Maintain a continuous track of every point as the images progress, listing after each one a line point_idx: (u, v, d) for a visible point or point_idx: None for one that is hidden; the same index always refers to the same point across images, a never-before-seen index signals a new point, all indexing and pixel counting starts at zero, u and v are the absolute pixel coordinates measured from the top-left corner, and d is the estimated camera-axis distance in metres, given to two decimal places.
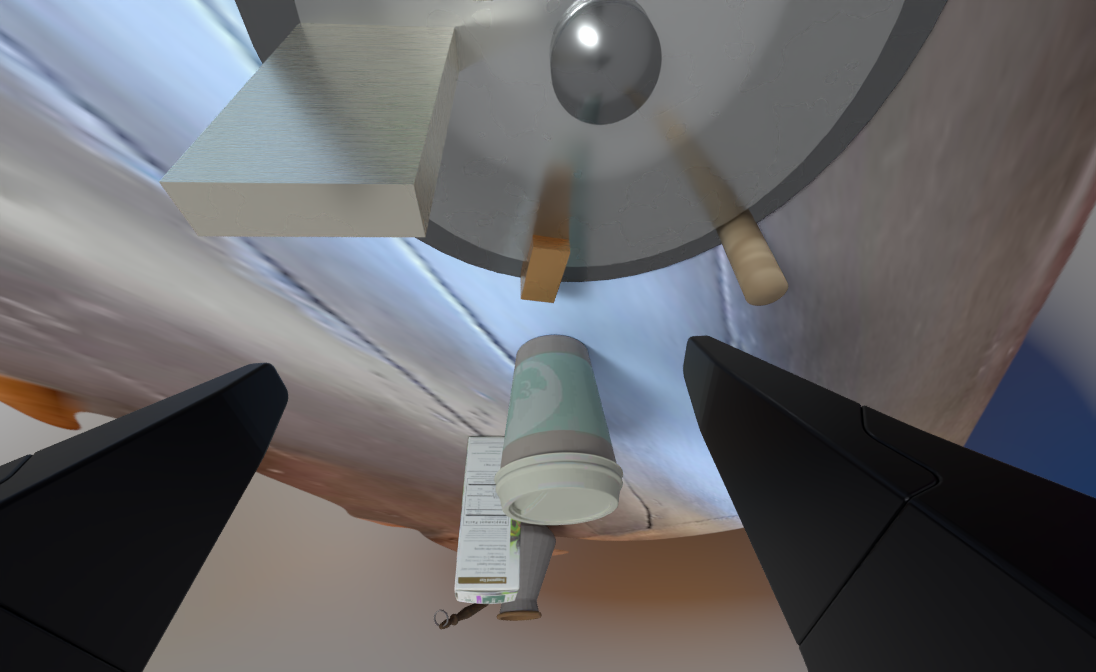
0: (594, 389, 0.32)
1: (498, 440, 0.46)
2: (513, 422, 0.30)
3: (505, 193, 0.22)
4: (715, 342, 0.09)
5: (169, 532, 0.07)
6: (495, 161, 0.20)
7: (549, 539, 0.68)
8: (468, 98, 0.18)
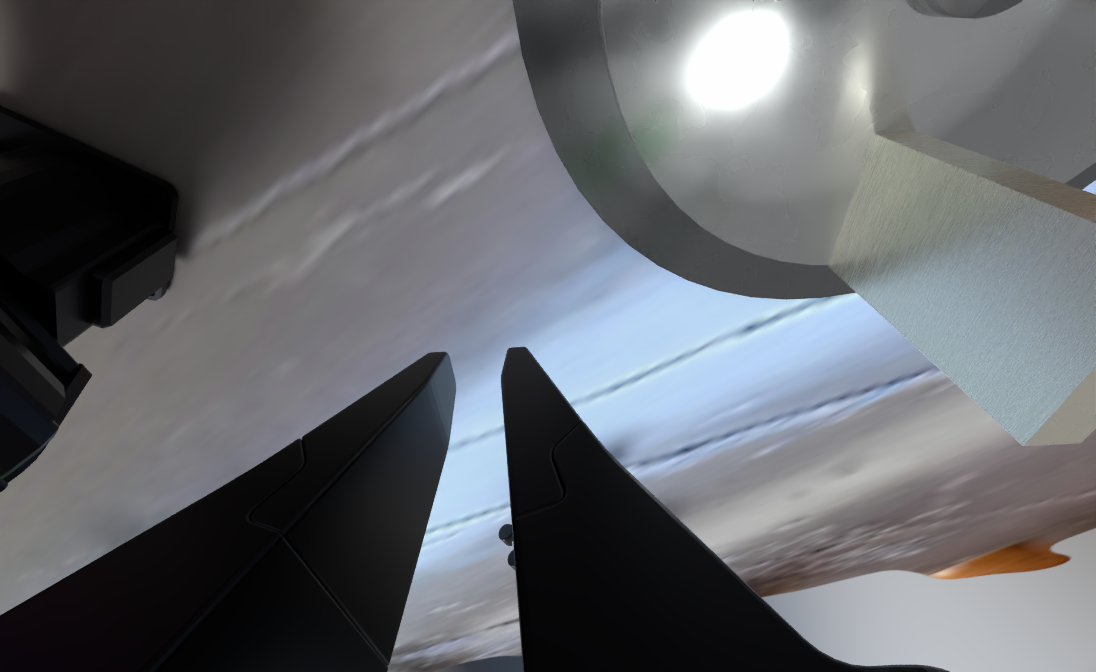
0: None
1: None
2: None
3: (1094, 72, 0.15)
4: (524, 353, 0.09)
5: (404, 518, 0.07)
6: (1038, 87, 0.16)
7: None
8: (946, 121, 0.16)
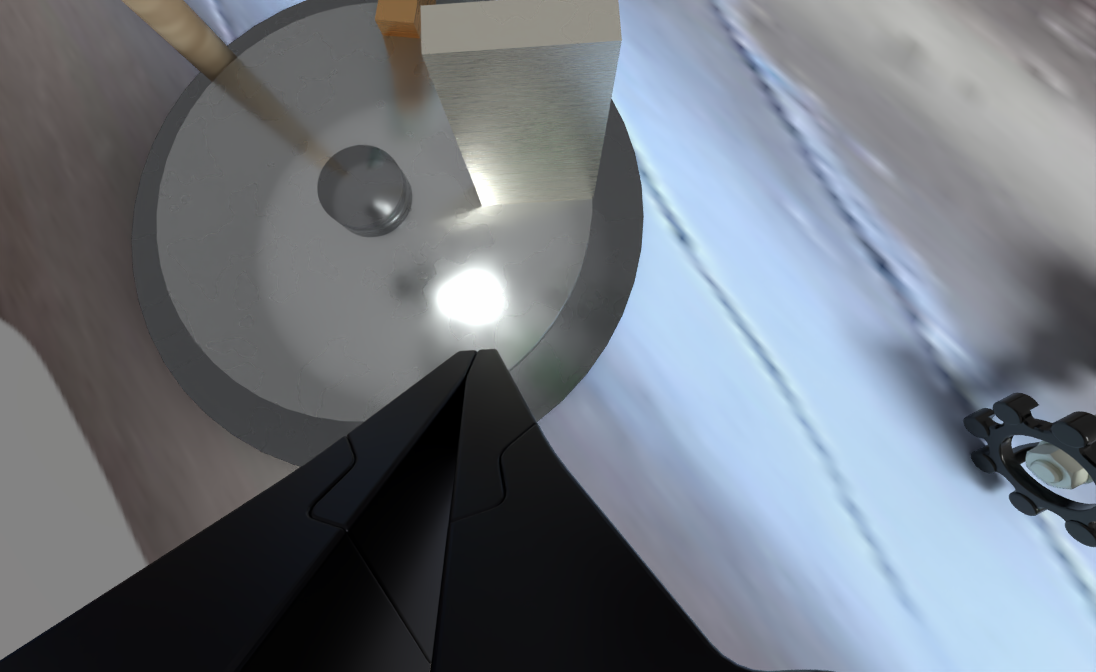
0: None
1: None
2: None
3: None
4: (492, 355, 0.09)
5: (444, 516, 0.07)
6: None
7: None
8: None
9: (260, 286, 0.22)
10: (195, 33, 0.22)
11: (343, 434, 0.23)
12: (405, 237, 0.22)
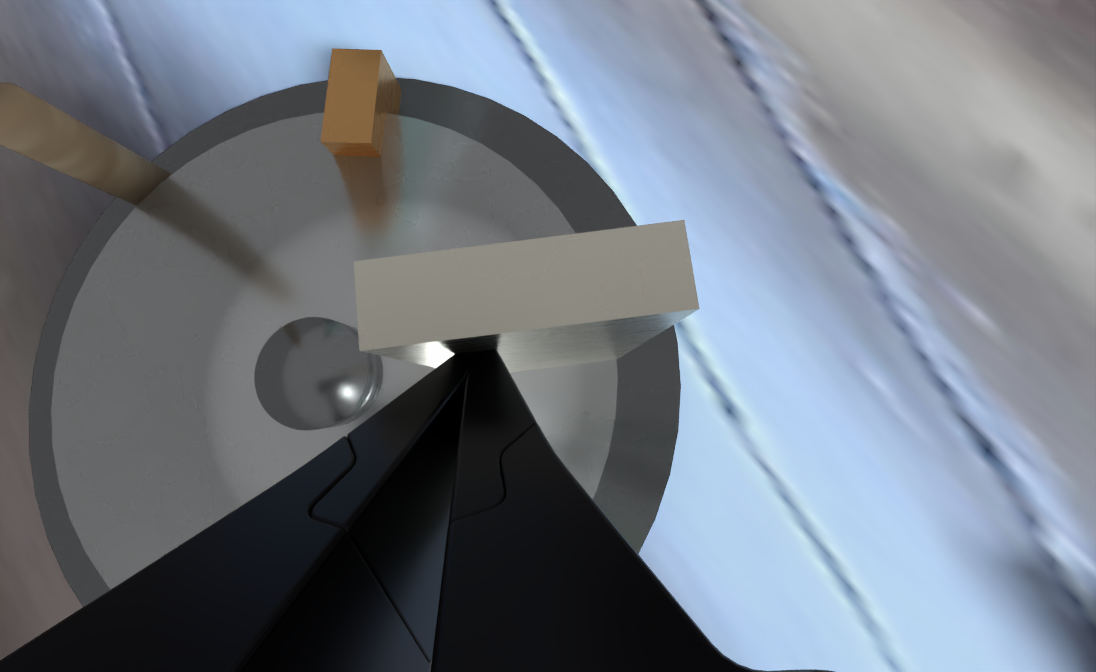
0: None
1: None
2: None
3: (419, 210, 0.18)
4: (492, 355, 0.09)
5: (444, 516, 0.07)
6: (431, 248, 0.18)
7: None
8: None
9: (190, 503, 0.17)
10: (100, 162, 0.17)
11: None
12: None
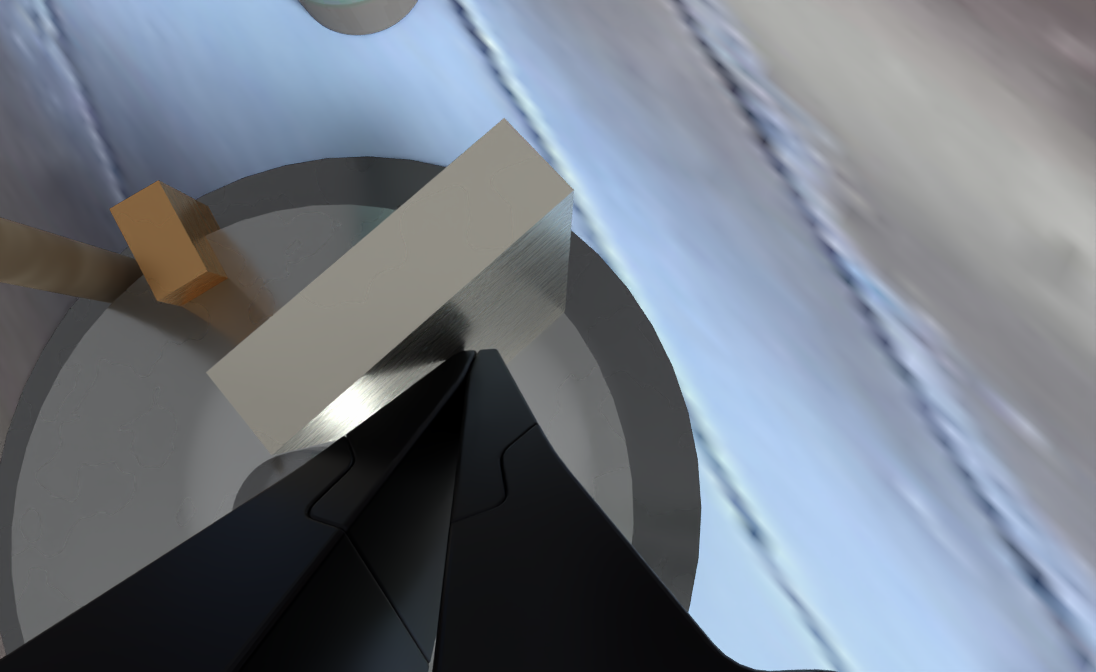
0: None
1: None
2: None
3: None
4: (493, 355, 0.09)
5: (443, 516, 0.07)
6: None
7: None
8: None
9: None
10: (61, 272, 0.15)
11: None
12: None
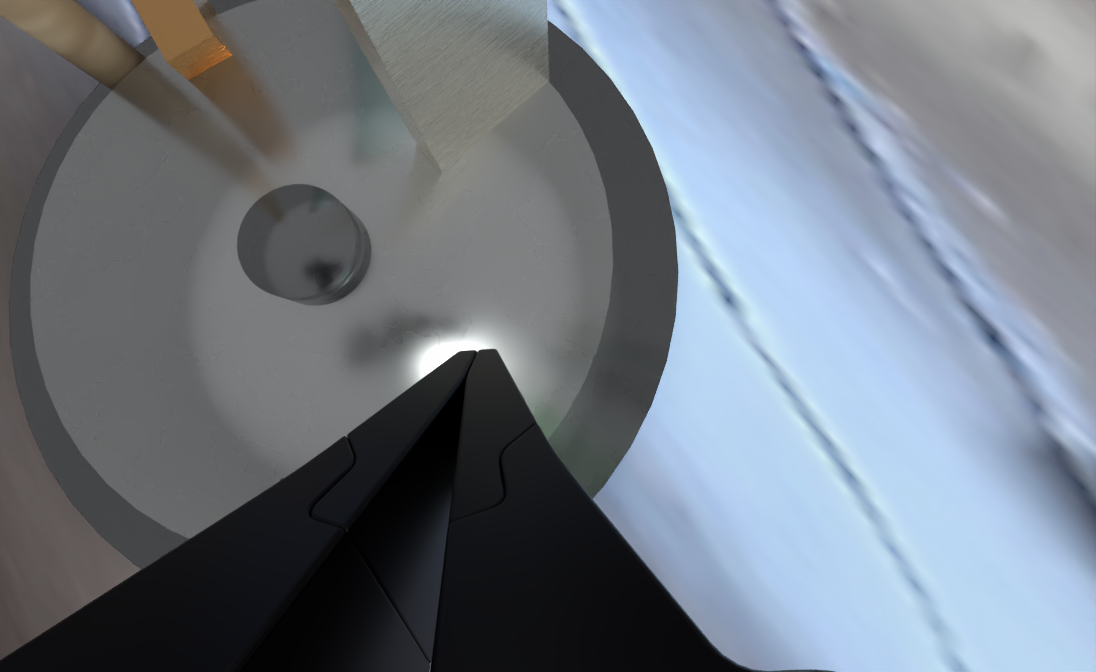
0: None
1: None
2: None
3: (298, 75, 0.18)
4: (492, 355, 0.09)
5: (444, 516, 0.07)
6: (331, 98, 0.17)
7: None
8: (395, 131, 0.17)
9: (269, 439, 0.16)
10: (76, 30, 0.16)
11: None
12: (387, 265, 0.17)
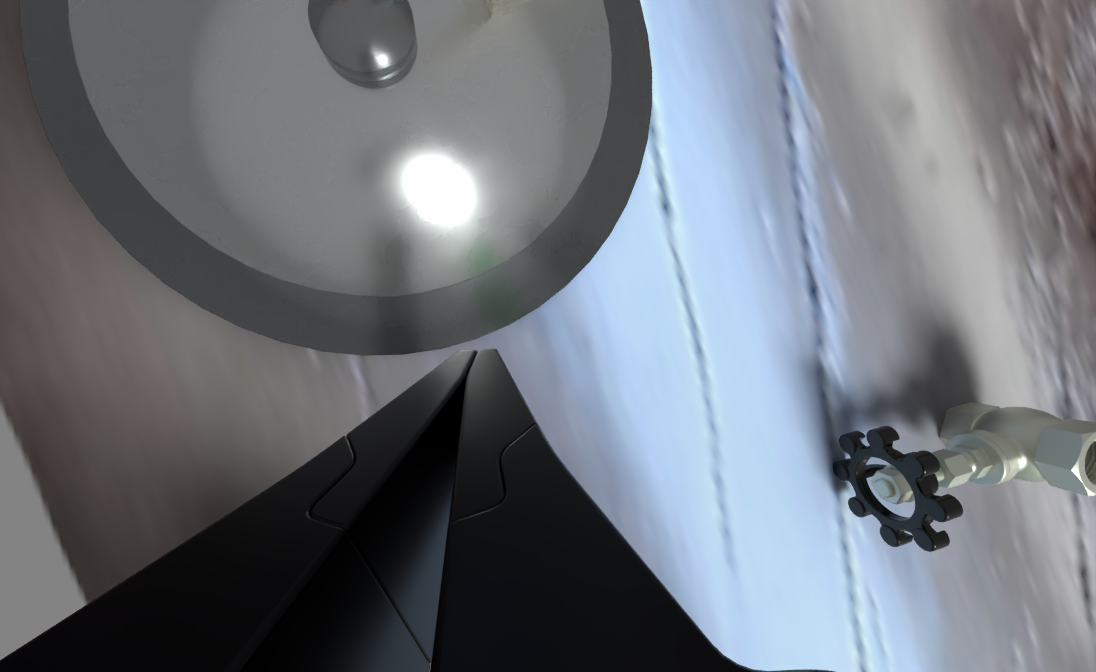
0: None
1: None
2: None
3: None
4: (492, 356, 0.09)
5: (444, 517, 0.07)
6: None
7: None
8: None
9: (291, 180, 0.19)
10: None
11: (269, 291, 0.20)
12: (426, 75, 0.20)
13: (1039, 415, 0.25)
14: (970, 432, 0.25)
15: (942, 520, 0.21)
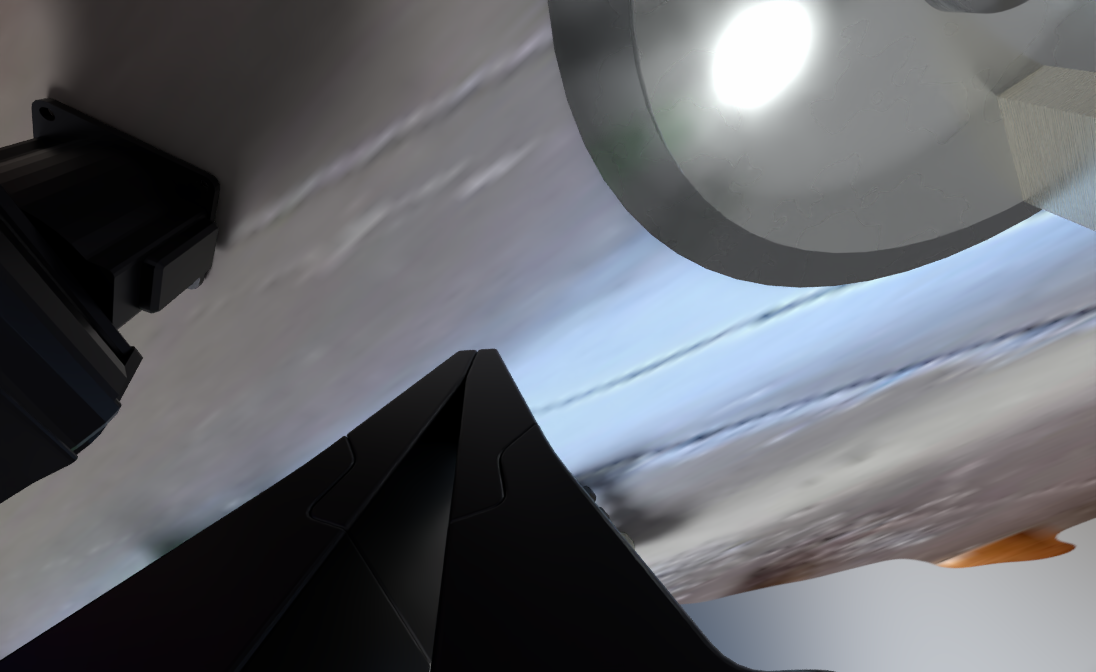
0: None
1: None
2: None
3: None
4: (492, 355, 0.09)
5: (444, 516, 0.07)
6: None
7: None
8: (1075, 36, 0.16)
9: None
10: None
11: None
12: (928, 34, 0.16)
13: None
14: None
15: None
